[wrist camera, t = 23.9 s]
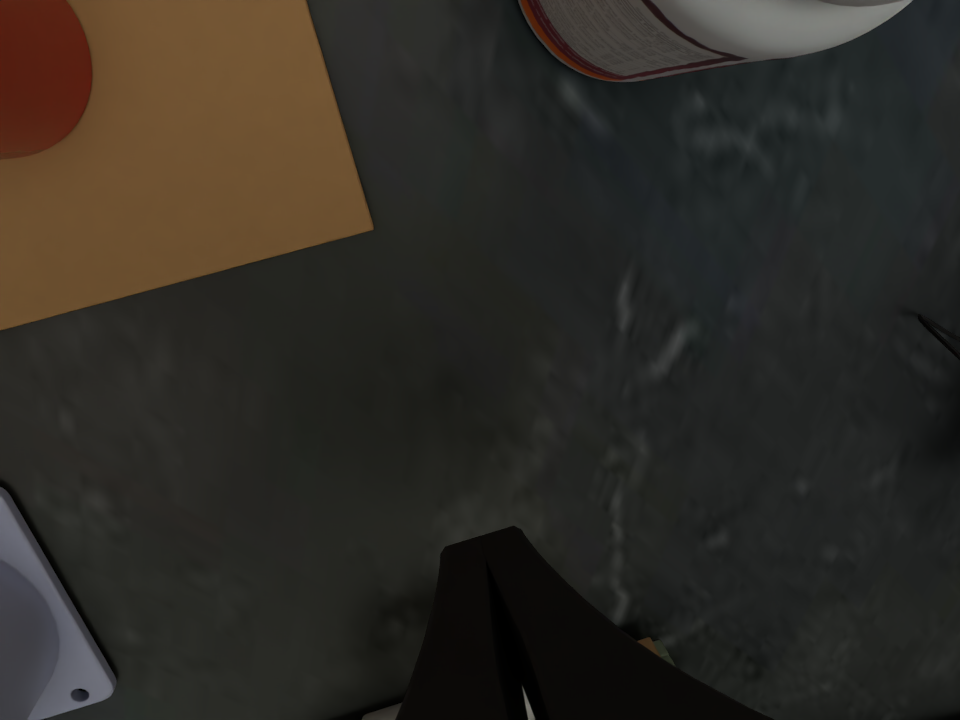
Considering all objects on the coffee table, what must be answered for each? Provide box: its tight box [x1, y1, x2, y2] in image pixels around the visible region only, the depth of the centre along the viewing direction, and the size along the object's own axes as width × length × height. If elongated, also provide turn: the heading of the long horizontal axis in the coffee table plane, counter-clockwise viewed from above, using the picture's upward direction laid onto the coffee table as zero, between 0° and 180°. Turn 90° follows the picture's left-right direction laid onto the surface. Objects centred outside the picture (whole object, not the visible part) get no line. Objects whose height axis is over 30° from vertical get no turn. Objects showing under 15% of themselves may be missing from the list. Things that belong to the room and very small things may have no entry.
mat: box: [0, 0, 374, 331], centre depth 16 cm, size 14×12×1 cm
